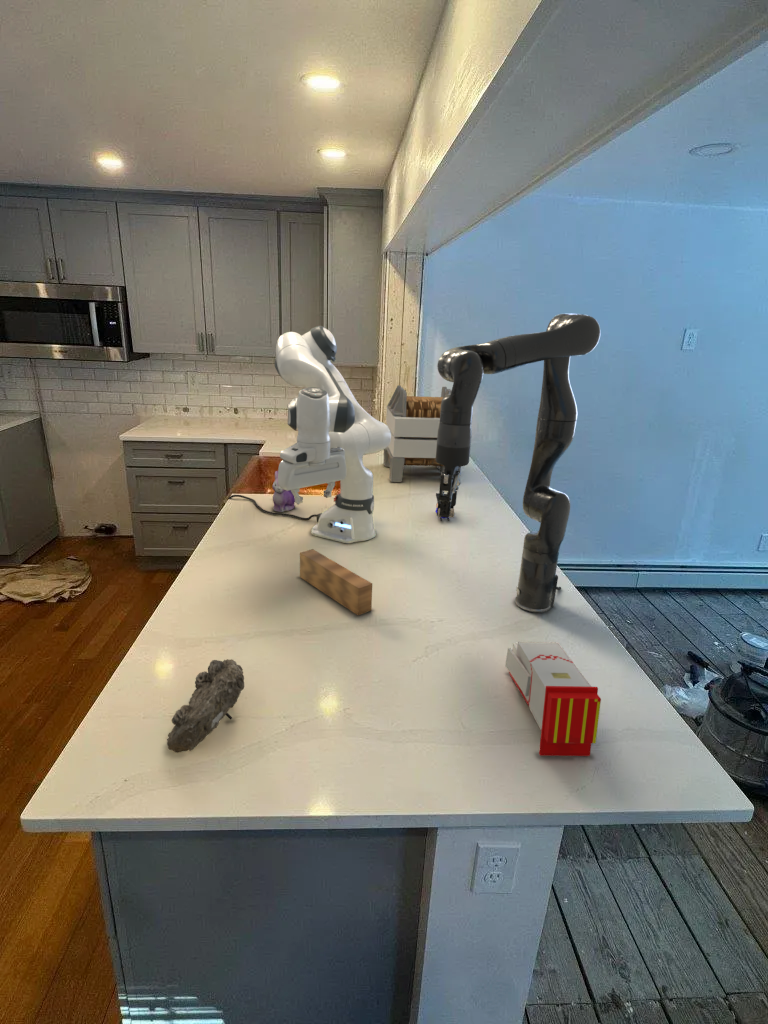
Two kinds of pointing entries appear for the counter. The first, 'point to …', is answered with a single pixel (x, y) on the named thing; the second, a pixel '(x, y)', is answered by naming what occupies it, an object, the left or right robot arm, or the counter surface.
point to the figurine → (282, 497)
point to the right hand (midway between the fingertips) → (447, 510)
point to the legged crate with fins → (412, 431)
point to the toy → (556, 697)
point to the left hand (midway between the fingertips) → (313, 500)
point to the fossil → (206, 705)
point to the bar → (336, 581)
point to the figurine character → (439, 508)
